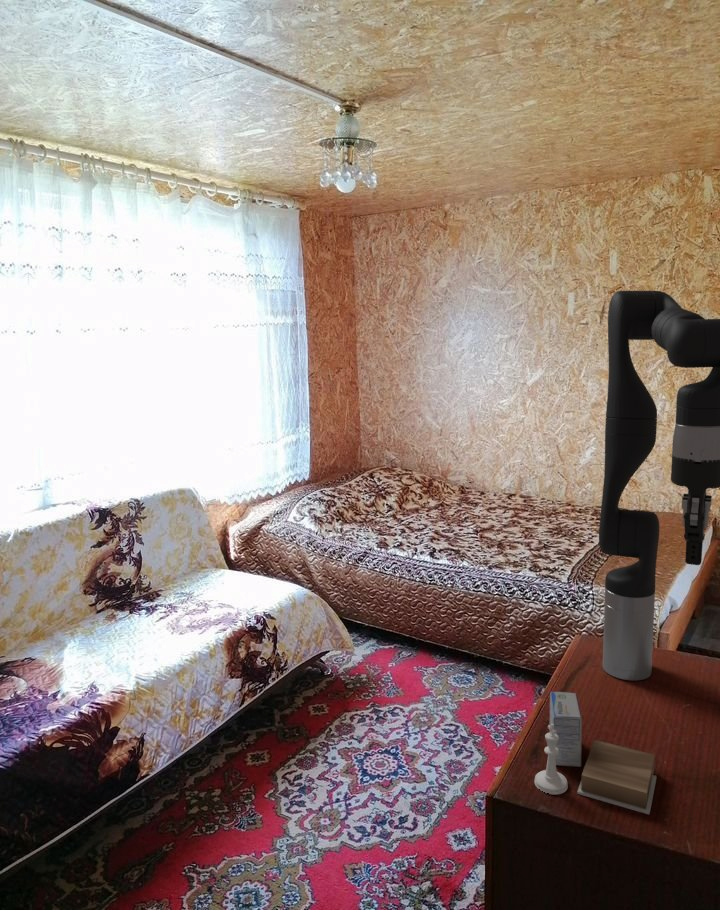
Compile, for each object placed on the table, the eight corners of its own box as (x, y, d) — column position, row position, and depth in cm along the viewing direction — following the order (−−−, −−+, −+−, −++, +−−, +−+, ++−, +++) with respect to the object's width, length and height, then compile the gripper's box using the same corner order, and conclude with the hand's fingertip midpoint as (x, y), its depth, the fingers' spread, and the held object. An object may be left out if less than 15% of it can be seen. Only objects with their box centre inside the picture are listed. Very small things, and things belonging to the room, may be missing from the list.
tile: (594, 739, 109) (581, 775, 101) (654, 754, 105) (646, 793, 96) (593, 754, 110) (581, 791, 101) (653, 770, 106) (646, 809, 97)
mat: (589, 760, 109) (589, 758, 109) (656, 778, 104) (656, 775, 104) (577, 793, 101) (577, 791, 101) (649, 814, 96) (649, 812, 96)
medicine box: (581, 768, 107) (582, 718, 106) (552, 765, 108) (553, 716, 107) (575, 739, 115) (577, 692, 113) (548, 737, 116) (549, 690, 114)
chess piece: (545, 797, 101) (546, 736, 99) (528, 777, 105) (529, 718, 104) (574, 790, 102) (576, 730, 100) (556, 771, 107) (557, 712, 105)
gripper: (675, 445, 110) (670, 548, 113) (668, 459, 98) (662, 573, 101) (728, 447, 106) (721, 553, 109) (726, 463, 95) (719, 580, 98)
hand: (693, 563), depth 105 cm, fingers closed
